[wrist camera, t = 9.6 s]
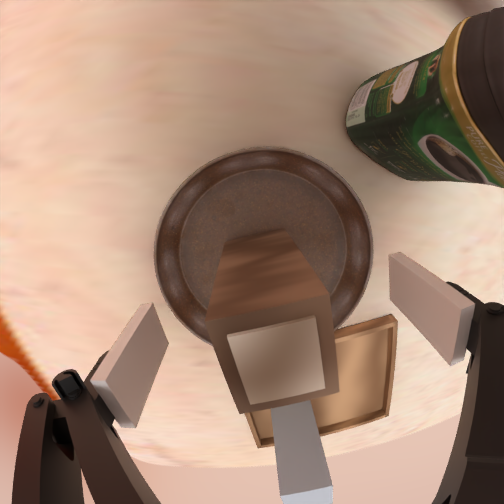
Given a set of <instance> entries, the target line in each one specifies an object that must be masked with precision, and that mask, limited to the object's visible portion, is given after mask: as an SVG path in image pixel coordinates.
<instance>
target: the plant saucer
mask: <svg viewBox="0 0 504 504" xmlns="http://www.w3.org/2000/svg"><path fill="white" fill-rule="evenodd" d="M282 228H284V229H285V230H286V231H287V233H288V234H289V236H290V237H291V238H292V240H293V241H294V243H295V244H296V246H297V247H298V248H299V250H300V251H301V253H302V254H303V256H304V257H305V259H306V260H307V261H308V263H309V264H310V266H311V267H312V269H313V270H314V272H315V273H316V275H317V276H318V277H319V279H320V280H321V282H322V283H323V285H324V286H325V288H326V289H327V291H328V292H329V295H330V303H331V310H332V318H333V327H334V331H335V330H336V329H338V328H339V327H340V326H341V325H342V324H343V323H344V322H345V321H346V320H347V319H348V317H349V316H350V315H351V314H352V312H353V311H354V309H355V308H356V307H357V305H358V303H359V302H360V300H361V298H362V296H363V294H364V292H365V289H366V287H367V284H368V281H369V278H370V274H371V268H372V263H373V237H372V231H371V227H370V222H369V219H368V216H367V214H366V211H365V209H364V207H363V205H362V203H361V201H360V199H359V198H358V196H357V195H356V193H355V192H354V190H353V189H352V188H351V187H350V185H349V184H348V183H347V182H346V181H345V180H344V179H343V178H342V177H341V176H340V175H339V174H338V173H337V172H336V171H334V170H333V169H332V168H330V167H329V166H327V165H326V164H324V163H323V162H321V161H319V160H317V159H316V158H314V157H311V156H309V155H306V154H304V153H301V152H298V151H294V150H289V149H284V148H275V147H258V148H249V149H243V150H239V151H235V152H232V153H229V154H226V155H223V156H221V157H219V158H216V159H214V160H212V161H210V162H209V163H207V164H205V165H204V166H202V167H201V168H199V169H198V170H197V171H195V172H194V173H193V174H192V175H190V176H189V177H188V178H187V179H186V180H185V181H184V182H183V183H182V184H181V185H180V186H179V188H178V189H177V190H176V191H175V193H174V194H173V196H172V197H171V198H170V200H169V202H168V203H167V205H166V207H165V209H164V211H163V213H162V216H161V218H160V221H159V224H158V227H157V231H156V235H155V242H154V265H155V272H156V277H157V280H158V284H159V286H160V290H161V292H162V295H163V297H164V299H165V301H166V303H167V304H168V306H169V308H170V309H171V311H172V312H173V313H174V315H175V316H176V318H177V319H178V320H179V321H180V322H181V323H182V324H183V325H184V326H185V327H186V328H187V329H188V330H189V331H190V332H191V333H193V334H194V335H195V336H197V337H198V338H199V339H201V340H203V341H204V342H206V343H208V344H210V345H212V346H213V344H212V341H211V339H210V336H209V333H208V330H207V327H206V325H205V317H206V313H207V309H208V305H209V301H210V297H211V293H212V289H213V285H214V281H215V277H216V273H217V270H218V266H219V262H220V258H221V254H222V250H223V247H224V243H225V242H226V241H230V240H234V239H239V238H243V237H247V236H251V235H256V234H260V233H264V232H269V231H273V230H277V229H282Z"/></svg>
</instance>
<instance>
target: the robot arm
mask: <svg viewBox="0 0 504 504" xmlns="http://www.w3.org/2000/svg"><path fill="white" fill-rule="evenodd" d="M389 278H390V300H391V301H392V302H393V303H394V304H395V305H396V306H397V307H398V308H399V309H400V311H401V312H402V313H403V314H404V315H405V316H406V317H407V318H408V319H409V320H410V321H411V322H412V323H413V325H414V326H415V327H416V328H417V329H418V330H419V331H420V332H421V333H422V334H423V336H424V337H425V338H426V339H427V340H428V341H429V342H430V343H431V345H432V346H433V347H434V348H435V349H436V350H437V351H438V353H439V354H440V355H441V356H442V357H443V358H444V359H445V361H446V362H447V363H448V364H449V365H450V366H452V365H454V364H456V363H458V362H460V361H462V360H464V357H465V353H466V348H467V349H468V350H469V351H470V352H471V357H470V360H469V364H468V367H467V371H466V373H468V377H467V384H466V390H465V396H464V402H463V407H462V412H461V417H460V421H459V426H458V430H457V434H456V438H455V441H454V445H453V449H452V452H451V455H450V459H449V462H448V465H447V468H446V471H445V474H444V477H443V479H442V482H441V485H440V487H439V490H438V493H437V495H436V497H435V499H434V501H433V502H432V504H504V305H502V304H500V303H495V302H490V303H486V304H484V303H483V302H481V301H480V300H479V299H477V298H476V297H474V296H473V295H472V294H469V292H467V291H466V290H464V289H463V288H462V287H460V286H459V285H457V284H454V283H451V282H444V281H443V280H442V279H440V278H439V277H437V276H436V275H434V274H433V273H431V272H430V271H428V270H427V269H426V268H424V267H423V266H421V265H420V264H418V263H417V262H415V261H413V260H412V259H410V258H409V257H407V256H406V255H404V254H403V253H401V252H398V253H394V254H390V255H389ZM168 344H169V343H168V341H167V338H166V336H165V333H164V331H163V328H162V326H161V323H160V320H159V318H158V315H157V312H156V310H155V307H154V304H153V303H148V304H142V305H140V307H139V308H138V309H137V311H136V312H135V314H134V315H133V317H132V318H131V319H130V321H129V322H128V324H127V325H126V327H125V328H124V330H123V331H122V333H121V334H120V335H119V337H118V338H117V340H116V341H115V343H114V344H113V346H112V347H111V349H110V350H109V351H107V352H106V353H104V354H103V355H102V356H101V357H100V358H99V360H98V361H97V363H96V365H95V366H94V367H93V370H91V372H90V373H89V375H88V376H87V378H86V379H85V381H84V382H83V381H82V379H81V378H80V376H79V374H78V373H77V371H76V370H73V369H70V370H66V371H63V372H61V373H59V374H58V375H57V376H56V377H55V378H54V379H53V381H52V386H53V387H54V389H55V391H56V392H57V394H58V395H59V397H60V398H61V399H60V400H55V401H52V400H51V398H50V397H49V395H48V394H47V393H39V394H36V395H34V396H33V397H32V398H31V399H30V401H29V402H28V404H27V408H26V412H25V416H24V420H23V425H22V429H21V434H20V439H19V445H18V451H17V457H16V465H15V472H14V481H13V492H12V504H84V497H83V488H82V477H81V469H82V472H83V475H84V477H85V480H86V483H87V485H88V488H89V490H90V492H91V495H92V497H93V500H94V502H95V504H161V503H160V501H159V500H158V499H157V497H156V496H155V494H154V493H153V491H152V490H151V489H150V487H149V486H148V484H147V483H146V481H145V479H144V478H143V476H142V475H141V473H140V472H139V470H138V469H137V467H136V465H135V464H134V462H133V460H132V459H131V457H130V455H129V453H128V452H127V450H126V448H125V446H124V444H123V443H122V441H121V439H120V437H119V435H118V433H117V431H116V429H115V428H114V427H113V425H112V424H113V421H114V419H116V421H117V422H118V424H119V425H120V426H121V427H124V428H136V427H137V424H138V421H139V419H140V416H141V413H142V411H143V408H144V405H145V403H146V400H147V397H148V395H149V392H150V390H151V387H152V384H153V382H154V379H155V377H156V374H157V372H158V369H159V367H160V364H161V362H162V359H163V357H164V354H165V352H166V349H167V347H168Z"/></svg>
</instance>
